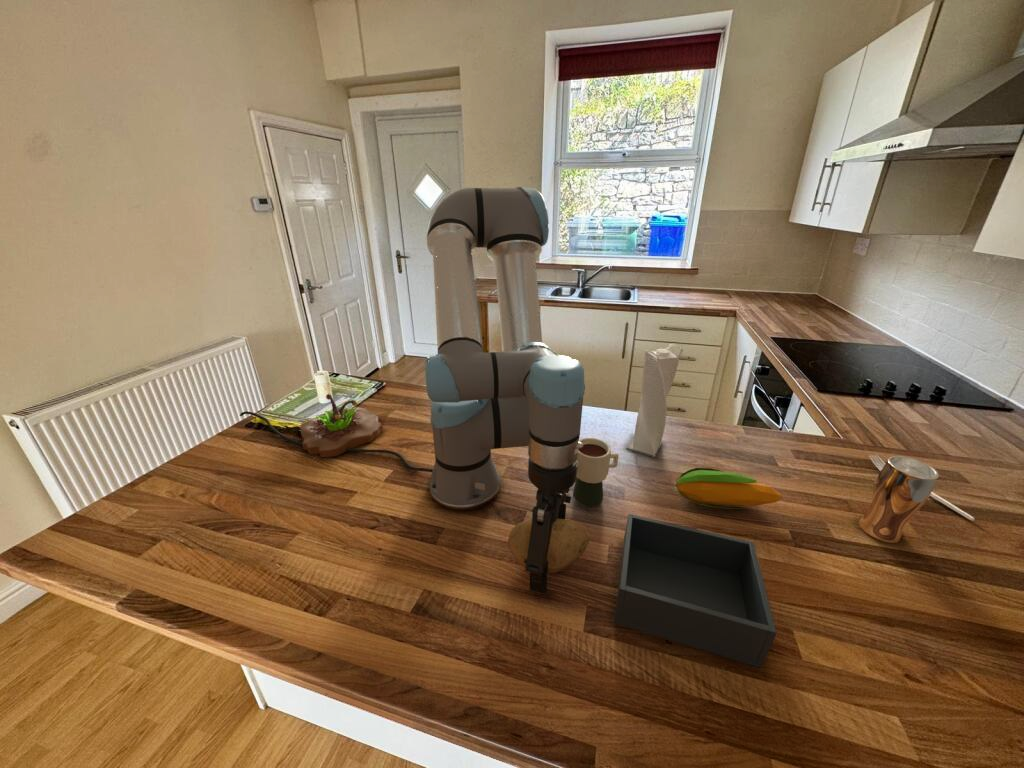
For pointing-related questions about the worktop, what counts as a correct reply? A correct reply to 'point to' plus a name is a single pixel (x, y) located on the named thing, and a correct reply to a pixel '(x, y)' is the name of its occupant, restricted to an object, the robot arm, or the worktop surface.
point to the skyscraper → (654, 400)
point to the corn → (724, 489)
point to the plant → (339, 430)
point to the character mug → (592, 470)
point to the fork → (880, 466)
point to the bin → (694, 590)
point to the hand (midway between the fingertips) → (548, 558)
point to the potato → (551, 543)
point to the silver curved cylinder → (897, 497)
